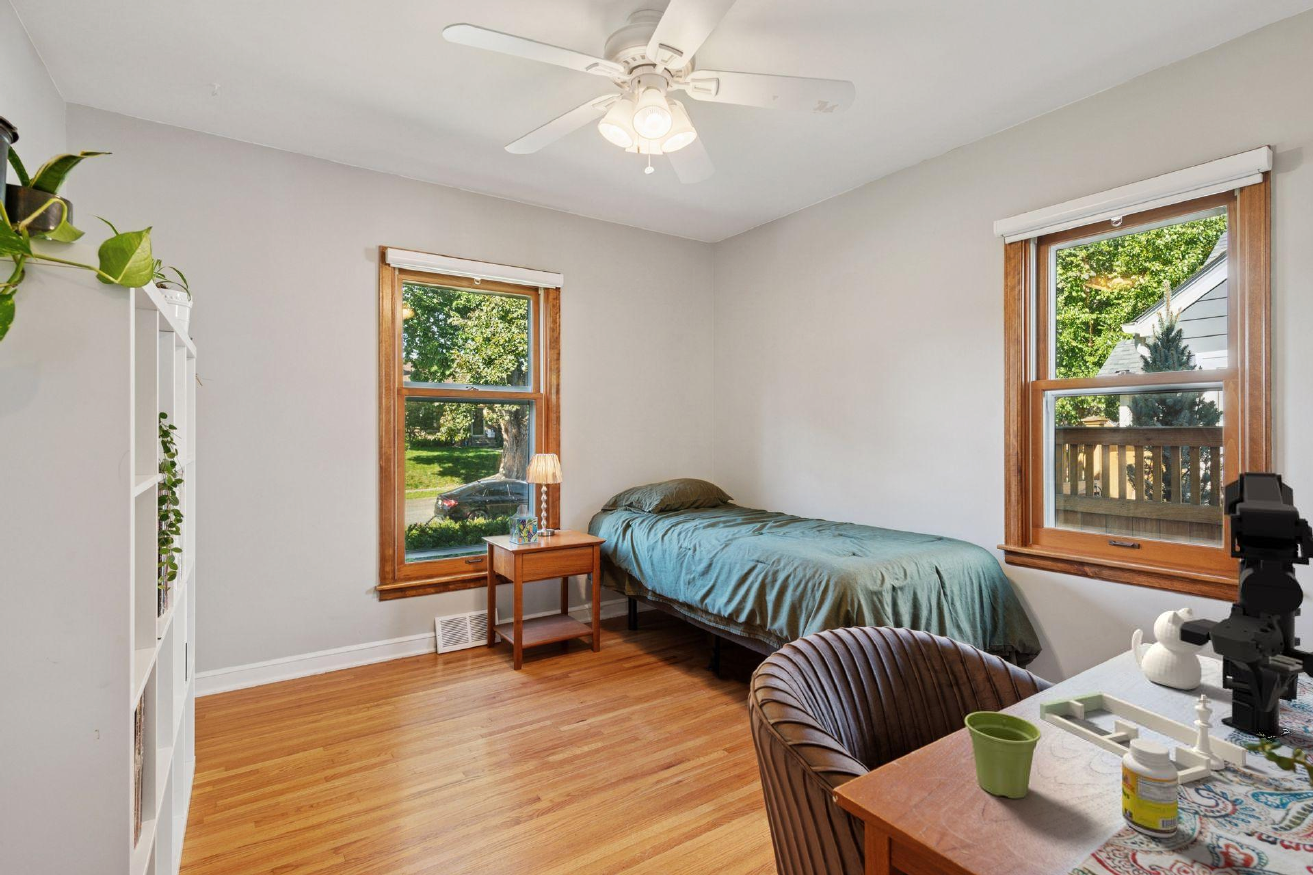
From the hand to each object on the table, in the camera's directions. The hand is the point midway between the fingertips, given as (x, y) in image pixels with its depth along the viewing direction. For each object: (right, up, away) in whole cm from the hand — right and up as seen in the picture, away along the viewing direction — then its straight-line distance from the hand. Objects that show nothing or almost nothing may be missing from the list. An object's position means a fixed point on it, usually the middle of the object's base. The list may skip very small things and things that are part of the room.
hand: (1264, 710), depth 89 cm
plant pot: (-36, -11, +1) cm, 38 cm away
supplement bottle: (-23, -11, -8) cm, 26 cm away
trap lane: (-8, -11, +14) cm, 19 cm away
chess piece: (-3, -11, +7) cm, 13 cm away
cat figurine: (+16, -10, +37) cm, 41 cm away
